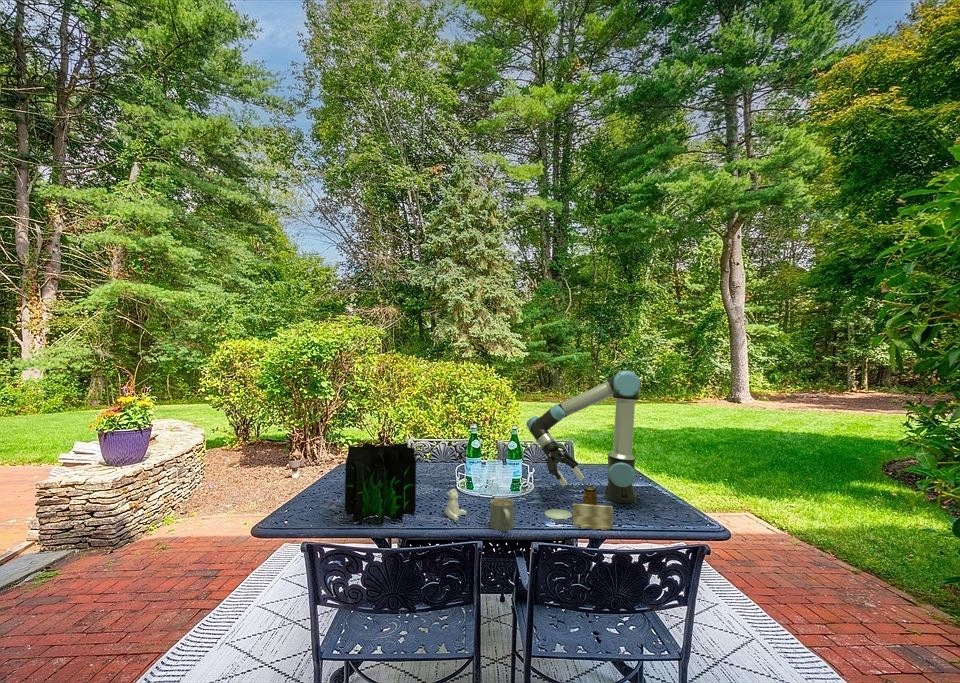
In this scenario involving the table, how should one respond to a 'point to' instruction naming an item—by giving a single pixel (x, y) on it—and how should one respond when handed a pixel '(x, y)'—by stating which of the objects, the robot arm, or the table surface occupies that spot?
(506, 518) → the coffee mug
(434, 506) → the table surface
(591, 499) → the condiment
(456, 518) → the white creature statuette
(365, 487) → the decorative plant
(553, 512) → the pad
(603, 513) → the birch screen
